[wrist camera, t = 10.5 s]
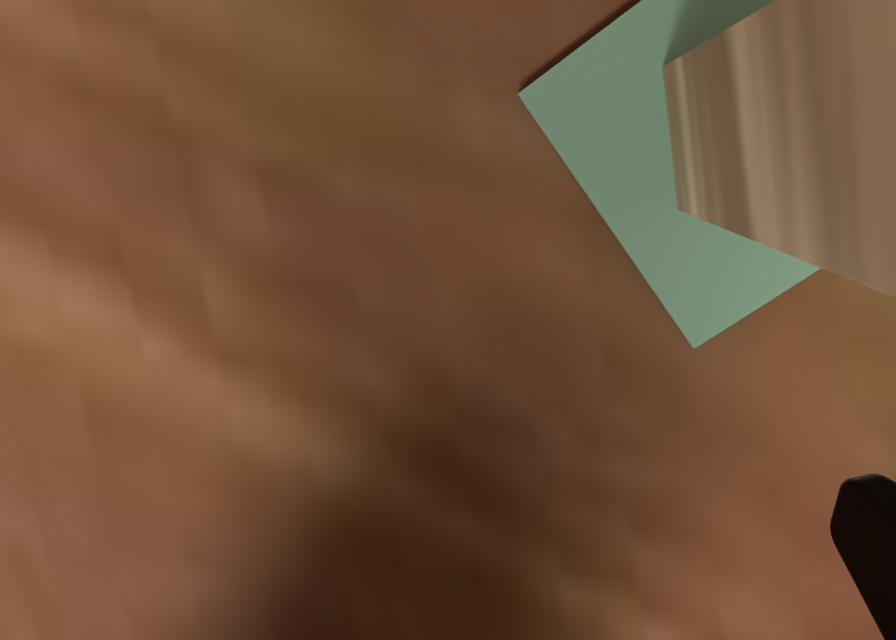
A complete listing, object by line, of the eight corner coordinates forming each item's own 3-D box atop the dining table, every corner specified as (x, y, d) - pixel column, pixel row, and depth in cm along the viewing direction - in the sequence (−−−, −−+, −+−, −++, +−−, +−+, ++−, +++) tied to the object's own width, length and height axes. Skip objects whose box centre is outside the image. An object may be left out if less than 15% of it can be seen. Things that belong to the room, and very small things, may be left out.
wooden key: (677, 209, 19) (964, 326, 7) (661, 67, 19) (948, -101, 6) (822, 187, 19) (1421, 265, 6) (812, 39, 18) (1461, -207, 6)
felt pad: (691, 346, 20) (694, 349, 20) (517, 94, 19) (517, 94, 19) (975, 165, 19) (983, 165, 18) (801, -120, 18) (805, -124, 18)
